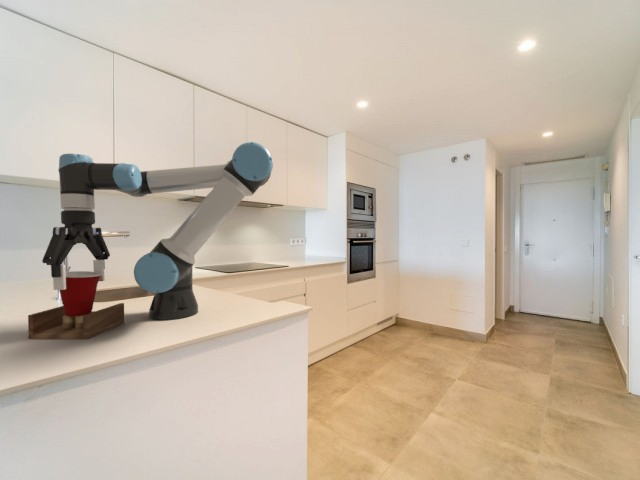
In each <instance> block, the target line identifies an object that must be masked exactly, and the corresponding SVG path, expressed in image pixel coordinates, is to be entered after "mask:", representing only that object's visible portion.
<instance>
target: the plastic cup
mask: <svg viewBox="0 0 640 480" xmlns="http://www.w3.org/2000/svg"><path fill="white" fill-rule="evenodd" d="M65 272H66V289H64V290H59V294H60V298H61V302H62V306H64V311H65V314H66V316H70V317H71V316H82V315H86V314H89V313H91V312H92V311H93V308H94V302H95V297H96V293H97V289H98V283H99V282H100V281H99V278H100V276H101V275H102V273H100V272H94V271H90V270H89V271H87V270H86V271H85V270H83V271H81V270H80V271H76V270H75V271H74V270H73V271H65Z"/></svg>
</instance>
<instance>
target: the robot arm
mask: <svg viewBox="0 0 640 480" xmlns="http://www.w3.org/2000/svg"><path fill="white" fill-rule="evenodd" d="M273 166H274V161H273V157H272V154H271V152H270V151H269V150H268V148H266V146H264V145H262V144H260V143H258V142H254V141H248V142H244V143H242V144H240V145H239V146H237V147H236V149H235V150H234V152H233V154H232V159H231V160H229V161H228V162H226V163H225V164H215V165H203V166H191V167H178V168H169V169H167V168H165V169H155V170H146V171H145V170H144V171H141V170H140V169H139V167H138V166H137V165H136V164H133V163H125V162H119V163H112V162H111V163H108V162H107V163H104V162H101V163H99V162H94V161H93V158H92V157H91V156H89V155H86V154H79V153H78V154H77V153H63V154H61V155H59V162H58V174H59V176H58V177H59V187H60V189H59V192H60V195H59V196H60V209H62V211H61V212H60V223H61V224H62V225H64V226H54V227H53V229H52V236H51V239H50V241H49V243H48V245H47V248H46V251H45V253H44V255H43V258H42V260H41V261H42V263H43V264H46V265H47V266H50V269H51V270H50V274H51V278H52V281H53V282H52V283H53V284H52V285H53V290H54V291H58V290H59V291H60V290H64V289H66V272H67V271H66V264H63V263H64V261H65V259H66V258H67V257H68V255H69V253H70V252H71V250H72V249H73V247H74V246H75V245H77V244H83V245H85V247H86V248H87V249H88V250H89V252H90V253H91V254H92V256H93V258H95V259H93V264H92V265H93V272H100V273H102V275H101V276H100V278H99V281H98V282H105V280H106V279H105V270H106V269H105V265H106V262H105V260H108V259H109V257H110V256H111V255H110V254H111V253H110V251H109V248H108V247H107V244H106V241H105V239H104V237H103V233H102V228H101V227H93V225H95V224H96V213H95V212H94V210H95V208H96V207H95V205H96V204H95V191H96V190H98V191H99V190H101V191H102V190H103V191H117V192H121V193H123V194H127V195H129V196H131V197H137V198H138V197H141V198H142V197H145V196H147V195H151V194H152V195H154V194H160V193H170V192H171V193H172V192H182V191H193V190H203V189H204V190H205V189H211V191H210V192H208V194H207V195H206V196H205V197H204V199H203V200H202V201H201V202H200V203H199V204H198V205H197V207H196V208H194V210H193V211H192V212H191V213H190V215H189V216H188V217H187V218H186V219H185V221H183V222H182V223H181V225H180V226H179V227H178V228H177V230H175V232H174V233H173V234H172V235H171V236H170V237H169V238H161V240H160V241H159V242H158V243H156V245H155V246H154V247H153V248H152V249H151V251H150V252H148V253H145V254H143V255H142V256H141V257H139V259H138V260H137V261H136V263H135V264H134V268H133V277H134V280H135V282H136V284H137V285H138V286H139V287H140V289H143V290H144V291H146V292H148V293H153V294H154V295H153V298H152V300H151V304H150V307H149V309H148V313H149V314H148V316H149V318H150V319H153V320H164V321H165V320H166V321H167V320H176V319H183V318H189V317H191V316H194V315H196V314H198V313H199V304H198V300H197V298H196V295H195V294H194V290H193V266H194V264H195V263H196V259H195V255H197V253H198V252H199V251H200V249H201V248H202V247H203V246H204V245H205V244H206V243H207V242H208V241H209V239H210V238H211V237H212V235H213V234H214V233H215V232H217V231H216V230H218V229H219V228H220V226H221V225H222V224H223V223H224V221H225V220H227V218H228V217H229V215H231V213H232V212H233V211H234V209H236V208H237V206H239V204H240V203H241V202H242V200H244V198H245V197H248V196H249V197H250V196H253V195H254V194H255V193H256V192H257V191H258V189H259V188H260V187H262V186H264V185H265V184H266V183H267V182H268V181H269V180H270V178H271V174H272V171H273V168H274V167H273Z"/></svg>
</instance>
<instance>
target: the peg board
mask: <svg viewBox="0 0 640 480" xmlns="http://www.w3.org/2000/svg"><path fill="white" fill-rule="evenodd" d="M27 323H28V324H27V327H28V330H27V331H28V339H31V340H32V339H35V340H40V339H41V340H43V339H44V340H89V339H91V338H93V337H94V338H95V337H97V336H98V335H101V334H103V333H105V332H107V331H110V330H112V329H115V328H116V327H119V326H122V325H124V324H125V303H124V302H120V303H117V304H114V305H110V306H108V307H105V308H102V309H98V310H92V312H91V313H89V314H86V315H82V316H71V317H70V316H66V314H65V311H64V306H63V305H62V306H61V305H60V306H56V307H54V308H50V309H47V310H41V311H40V312H39V311H38V312H36V313H31V314H28V315H27Z"/></svg>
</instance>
